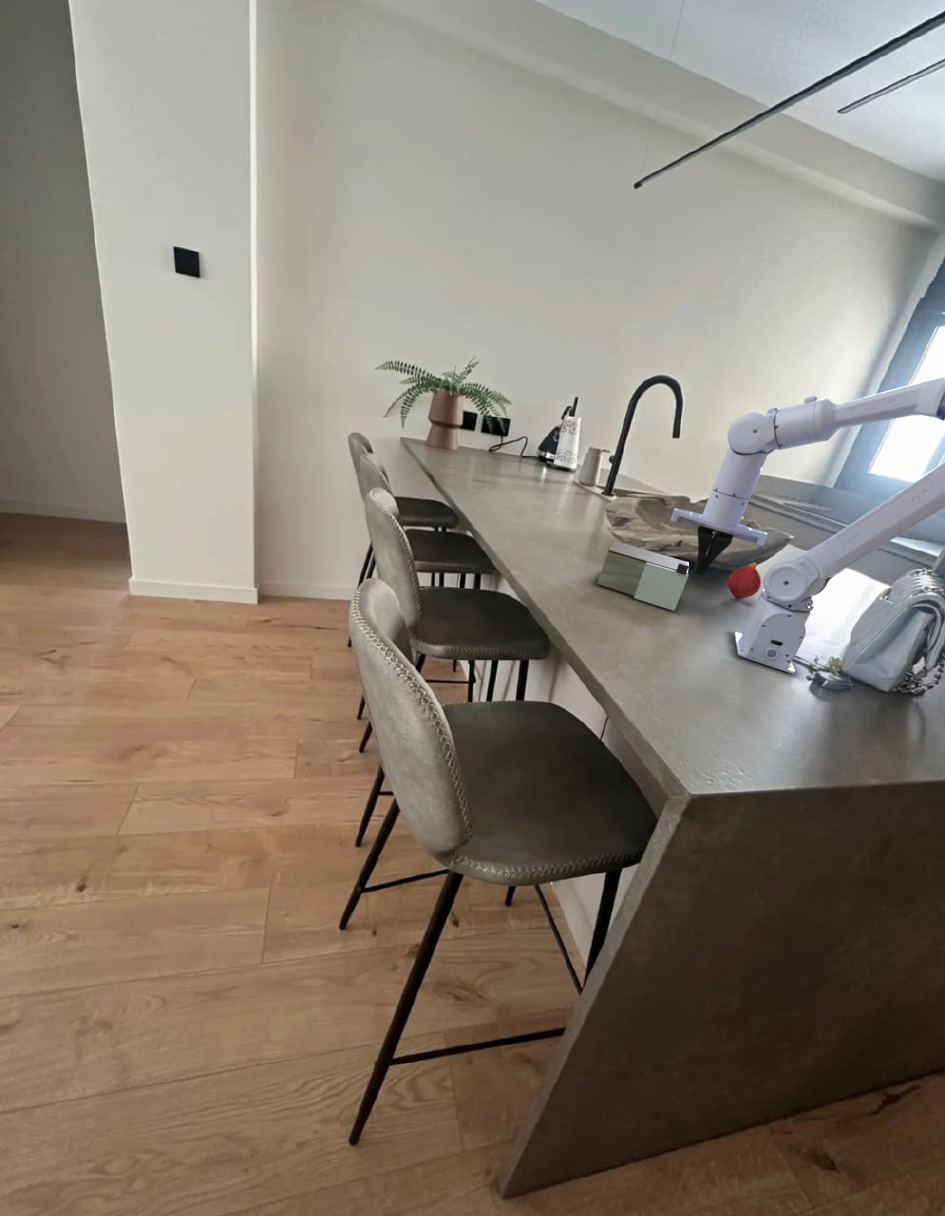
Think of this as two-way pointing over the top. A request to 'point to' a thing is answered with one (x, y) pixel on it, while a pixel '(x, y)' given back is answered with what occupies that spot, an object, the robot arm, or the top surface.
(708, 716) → the top surface
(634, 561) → the cabinet
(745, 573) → the onion
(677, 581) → the sliding door
